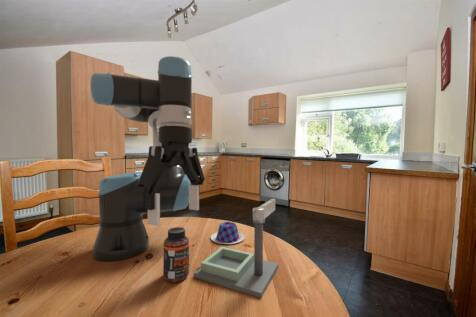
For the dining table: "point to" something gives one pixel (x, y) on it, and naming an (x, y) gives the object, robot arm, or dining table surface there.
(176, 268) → the supplement bottle
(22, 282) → the dining table surface
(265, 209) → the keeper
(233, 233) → the pudding
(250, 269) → the socket base
